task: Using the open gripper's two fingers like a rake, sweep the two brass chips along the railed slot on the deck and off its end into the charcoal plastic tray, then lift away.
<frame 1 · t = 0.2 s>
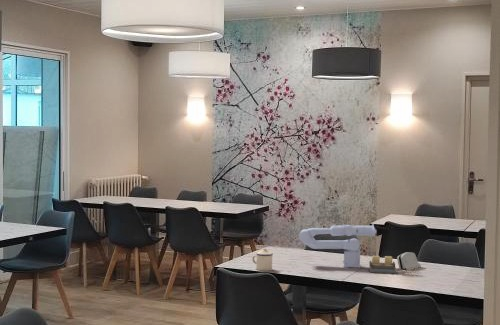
hand: (388, 230, 382), 21 cm above the table, tool horizontal, fingers open, 7 cm apart
chip left: (375, 263, 383), point 2 cm above the table, touching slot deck
chip right: (388, 263, 382), point 2 cm above the table, touching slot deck
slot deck: (382, 268, 381), on the table
light grey rounded slab: (408, 268, 385), on the table
teacup with lid: (261, 269, 371), on the table
tray: (382, 271, 371), on the table
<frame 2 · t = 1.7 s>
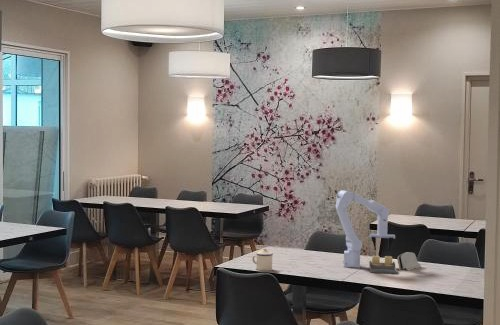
hand: (381, 250, 390), 9 cm above the table, tool pointing down, fingers open, 7 cm apart
nothing on the table moved.
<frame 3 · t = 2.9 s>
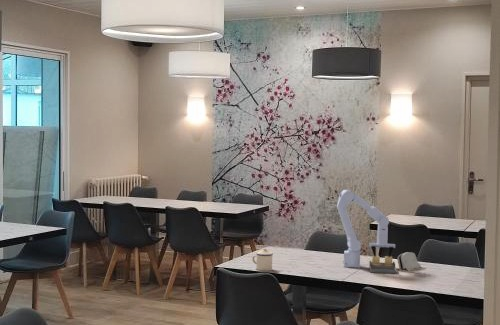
hand: (381, 259, 386), 4 cm above the table, tool pointing down, fingers open, 7 cm apart
chip left: (375, 263, 383), point 3 cm above the table, touching gripper
chip right: (388, 263, 382), point 3 cm above the table, touching gripper, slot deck
everything else where it was.
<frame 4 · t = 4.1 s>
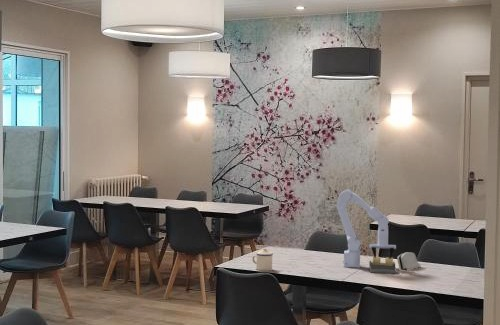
hand: (382, 261, 381), 4 cm above the table, tool pointing down, fingers open, 7 cm apart
chip left: (376, 264, 379), point 3 cm above the table, touching gripper, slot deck
chip right: (389, 265, 377), point 3 cm above the table, touching gripper, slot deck
everything else where it was.
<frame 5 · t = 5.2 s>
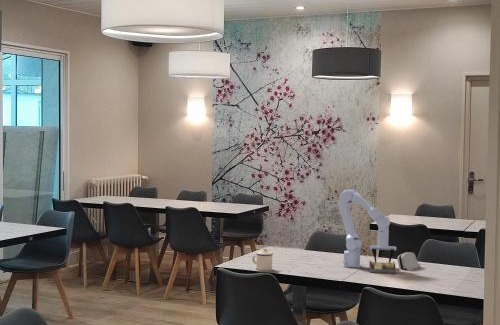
hand: (382, 262, 376), 4 cm above the table, tool pointing down, fingers open, 7 cm apart
chip left: (378, 267, 371), point 2 cm above the table, tilted 90°, touching tray
chip right: (389, 266, 375), point 2 cm above the table, tilted 90°, touching tray
everything else where it was.
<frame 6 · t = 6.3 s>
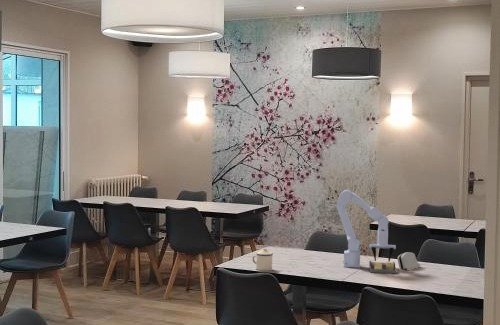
hand: (382, 261, 382), 4 cm above the table, tool pointing down, fingers open, 7 cm apart
nothing on the table moved.
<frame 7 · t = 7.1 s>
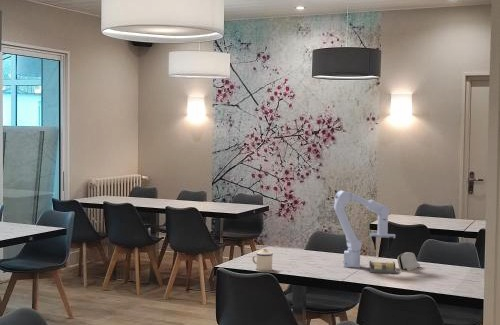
hand: (381, 249, 388), 9 cm above the table, tool pointing down, fingers open, 7 cm apart
nothing on the table moved.
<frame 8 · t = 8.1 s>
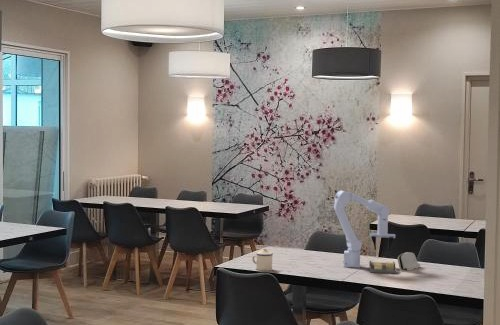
hand: (381, 249, 388), 9 cm above the table, tool pointing down, fingers open, 7 cm apart
nothing on the table moved.
at the end: chip left inside the target area on the tray (2.7 cm from its centre), point 2.5 cm above the tray's base; chip right inside the target area on the tray (5.8 cm from its centre), point 2.5 cm above the tray's base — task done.
